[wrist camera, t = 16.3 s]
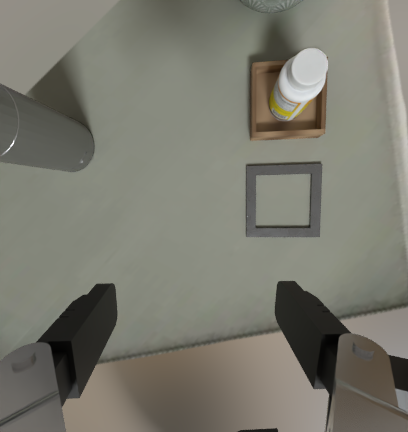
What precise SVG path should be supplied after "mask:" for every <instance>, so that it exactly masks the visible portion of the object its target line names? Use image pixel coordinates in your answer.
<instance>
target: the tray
mask: <svg viewBox="0 0 408 432" xmlns="http://www.w3.org/2000/svg"><path fill="white" fill-rule="evenodd" d="M327 60H328V57H327ZM287 61H288V60H279V61H267V62H255V63H252V68H251V95H250V141H253V140H276V139H298V138H318V137H320V136H321V135H323V134H325V124H326V96H327V72H326V80H325V84H324V86H323V88H322V90H321V91H320V92H319V94H318V95H317V96H316V97H315V98H314V99H313V100H312V101H311V102H310V104H309V105H308V106H307V107H306V108H305V109H304V110H303V111H302V112H301V113H300V115H298V116H297V117H296V118H294V119H292V120H289V121H281V120H278V119H276V118H275V117H273V115H272V114H271V113H270V110H269V105H268V103H269V98H270V95H271V93H272V90H273V88H274V86H275V83H276V81H277V79H278V76H279V74H280V72H281V70H282V68H283V66H284V65H285V63H286V62H287Z"/></svg>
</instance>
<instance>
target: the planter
mask: <svg viewBox="0 0 408 432" xmlns="http://www.w3.org/2000/svg"><path fill="white" fill-rule="evenodd" d="M240 1H241V2H242V3H244V4H245V5H246V6H248V7H249V8H251V9H253V10H256V11H259V12H263V13H276V12H281V11H285V10H287V9H290V8H292V7H294V6H296V5H297V4H299V3H300V2H301V1H303V0H240Z"/></svg>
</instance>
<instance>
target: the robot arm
mask: <svg viewBox="0 0 408 432" xmlns="http://www.w3.org/2000/svg"><path fill="white" fill-rule="evenodd" d="M93 152H94V142H93V138H92V135H91V133H90V132H89V130H88V129H87V128H86V127H85V126H84V125H83V124H81V123H80V122H78V121H76V120H74V119H72V118H70V117H68V116H66V115H64V114H62V113H60V112H58V111H56V110H54V109H52V108H50V107H48V106H45V105H43V104H41V103H39V102H37V101H35V100H33V99H31V98H29V97H27V96H25V95H23V94H21V93H18V92H17V91H15V90H12V89H11V88H8V87H6V86H4V85H2V84H0V162H4V163H11V164H18V165H25V166H32V167H39V168H46V169H53V170H60V171H68V172H76V171H79V170H81V169H83V168H84V167H86V166H87V165H88V163H89V162H90V160H91V158H92V156H93ZM275 316H276V320H277V323H278V325H279V326H280V328H281V330H282V332H283V334H284V335H285V337H286V339H287V341H288V343H289V345H290V347H291V348H292V350H293V352H294V354H295V356H296V357H297V359H298V361H299V363H300V365H301V367H302V368H303V370H304V372H305V374H306V376H307V378H308V379H309V381H310V383H311V385H312V387H313V389H326V390H327V391H328V393H329V398H328V406H327V415H326V424H325V432H408V359H405V358H400V357H395V356H391V355H388V354H387V353H386V351H385V350H384V349H383V348H382V347H381V346H379V345H378V344H377V343H375V342H374V341H372V340H370V339H368V338H366V337H364V336H361V335H357V334H352V333H351V332H350V331H349V330H348V329H347V328H346V327H345V326H344V325H343V324H342V323H341V322H340V321H339V320H338V319H337V318H336V317H335V316H334V315H333V314H332V313H331V312H330V310H329V309H328V308H327V307H326V306H324V304H323V303H322V302H321V301H320V300H319V299H318V298H317V297H316V296H314V295H312V294H311V293H309V292H307V291H303V289H302V288H301V287H300V286H299V285H298V284H297V283H296V282H295V281H279V282H278V284H277V291H276V302H275ZM116 321H117V302H116V290H115V285H114V284H113V283H111V284H96V285H95V286H94V287H93V288H92V290H91V291H90V292H89V293H88V294H87V295H82V296H81V297H79V298H78V299H76V300H75V301H73V302H72V303H71V304H70V305H69V306H68V308H67V309H66V310H65V311H64V312H63V313H62V314H61V315H60V316H59V318H58V319H57V320H56V321H55V322H54V323H53V324H52V325H51V326H50V327H49V329H48V330H47V331H46V332H45V333H44V334H43V335H42V336H41V337H40V339H39V340H38V341H37V342H36V343H31V344H28V345H25V346H22V347H20V348H18V349H16V350H14V351H12V352H11V353H9V354H8V355H6V356H5V357H4V358H3V359H2V360H1V361H0V432H66V429H65V423H64V418H63V412H62V406H63V405H64V403H65V401H66V399H69V398H80V396H81V394H82V392H83V390H84V388H85V386H86V384H87V382H88V380H89V378H90V376H91V374H92V372H93V370H94V368H95V366H96V364H97V362H98V360H99V358H100V356H101V354H102V352H103V350H104V347H105V345H106V343H107V341H108V339H109V337H110V335H111V333H112V331H113V329H114V327H115V325H116ZM238 432H278V429H277V428H275V429H256V430H240V431H238Z"/></svg>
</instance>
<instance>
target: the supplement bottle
mask: <svg viewBox="0 0 408 432" xmlns="http://www.w3.org/2000/svg"><path fill="white" fill-rule="evenodd" d="M327 69H328V60H327V57H326V55H325V54H324V53H323V52H322V51H321V50H319V49H317V48H307V49H304V50H302V51H301V52H299V53H298V54H297V55H296V56H294V57H292V58H291V59H289V60H288V61H287V62H286V63H285V65H284V66H283V68H282V70H281V72H280V74H279V76H278V79H277V81H276V83H275V86H274V88H273V90H272V93H271V95H270V98H269V103H268V105H269V110H270V113H271V114H272V115H273V117H275V118H276V119H278V120H281V121H289V120H292V119H294V118H296V117H297V116H298V115H300V113H301V112H302V111H303V110H304V109H305V108H306V107H307V106H308V105H309V104H310V102H311V101H312V100H313V99H314V98H315V97H316V96H317V95H318V94H319V92H320V91H321V90H322V88H323V86H324V84H325V80H326V72H327Z"/></svg>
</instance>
